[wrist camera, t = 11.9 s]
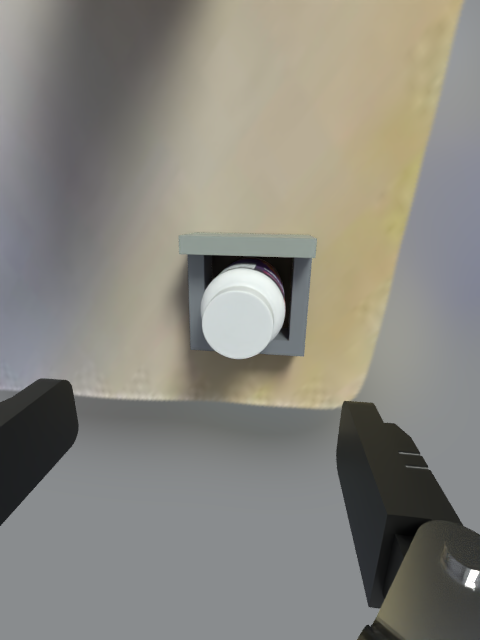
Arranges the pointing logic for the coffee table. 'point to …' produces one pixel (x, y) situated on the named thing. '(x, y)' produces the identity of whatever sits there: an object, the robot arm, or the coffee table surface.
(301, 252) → the dock
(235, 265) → the pill bottle
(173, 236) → the coffee table surface
